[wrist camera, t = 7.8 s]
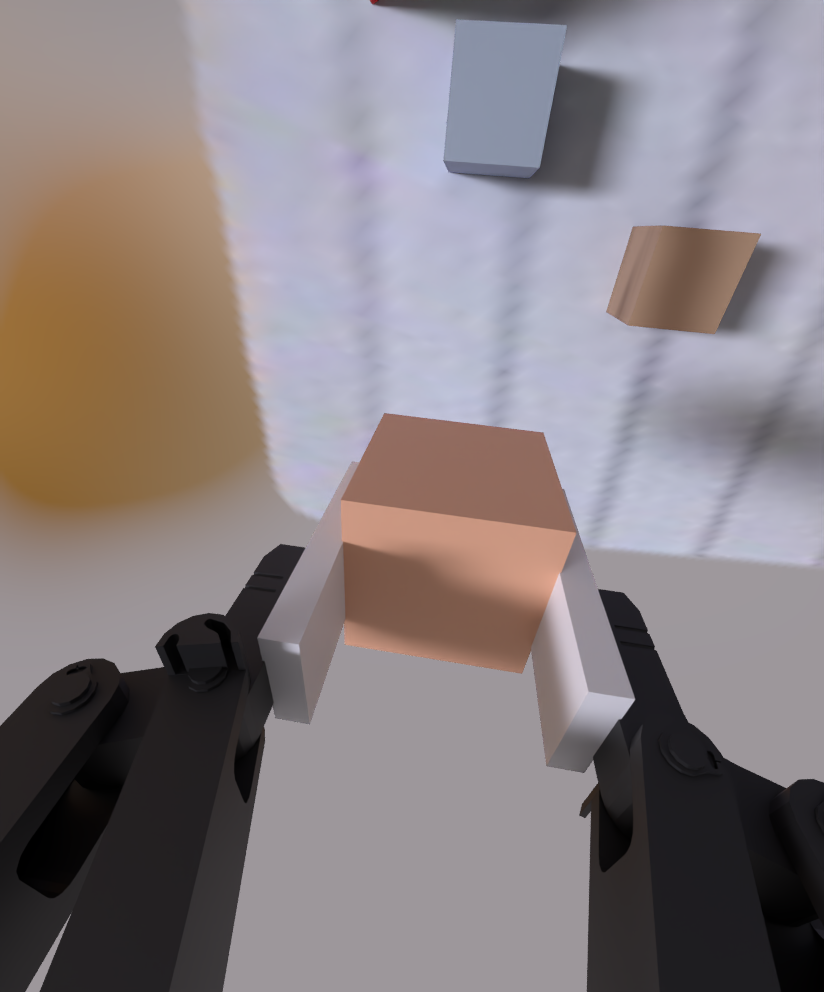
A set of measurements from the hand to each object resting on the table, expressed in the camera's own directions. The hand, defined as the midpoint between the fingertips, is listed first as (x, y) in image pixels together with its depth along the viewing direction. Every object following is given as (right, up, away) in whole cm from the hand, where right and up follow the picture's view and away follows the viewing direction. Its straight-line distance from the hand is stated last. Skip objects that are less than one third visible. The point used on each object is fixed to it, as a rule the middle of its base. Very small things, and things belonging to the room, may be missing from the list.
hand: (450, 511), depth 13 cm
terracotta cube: (0, +1, +1) cm, 1 cm away
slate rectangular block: (+4, +23, +11) cm, 25 cm away
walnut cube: (+15, +15, +14) cm, 26 cm away
